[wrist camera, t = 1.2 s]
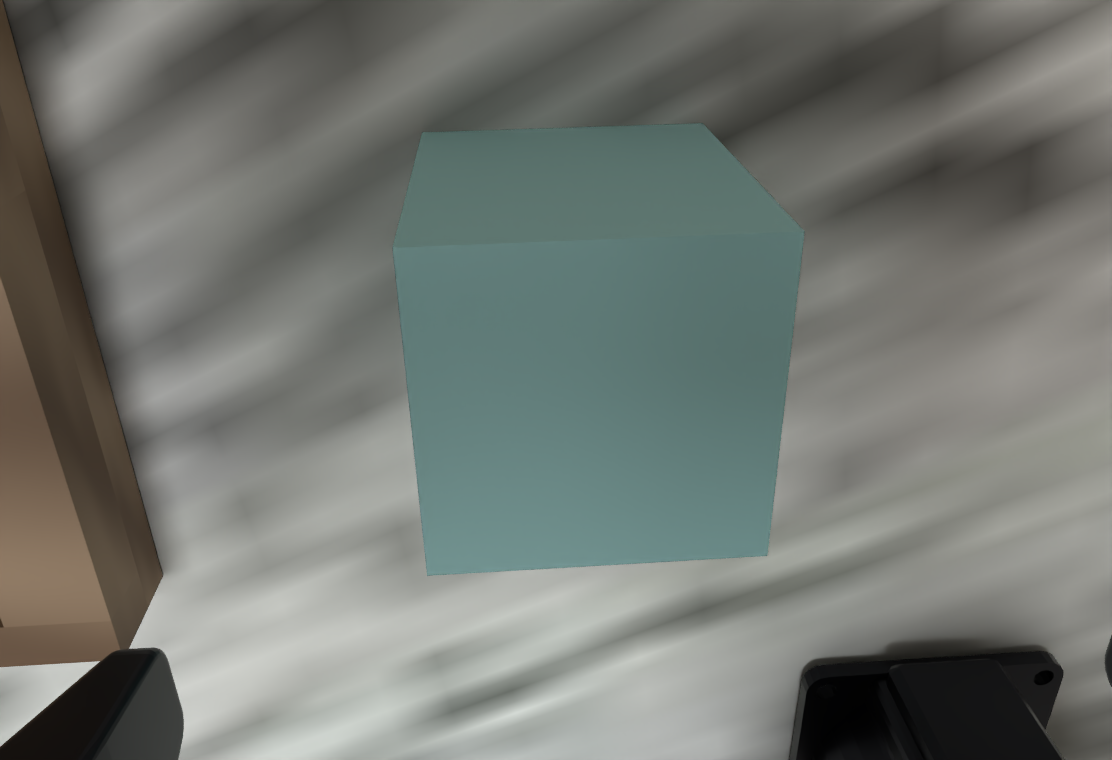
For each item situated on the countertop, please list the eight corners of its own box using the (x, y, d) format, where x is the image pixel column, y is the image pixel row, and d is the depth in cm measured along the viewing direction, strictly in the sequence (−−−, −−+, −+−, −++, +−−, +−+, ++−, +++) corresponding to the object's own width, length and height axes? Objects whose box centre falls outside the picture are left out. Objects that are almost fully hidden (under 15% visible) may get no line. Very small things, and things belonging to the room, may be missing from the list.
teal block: (688, 369, 19) (767, 555, 14) (443, 380, 19) (426, 575, 13) (701, 122, 16) (804, 231, 11) (422, 131, 16) (392, 248, 11)
